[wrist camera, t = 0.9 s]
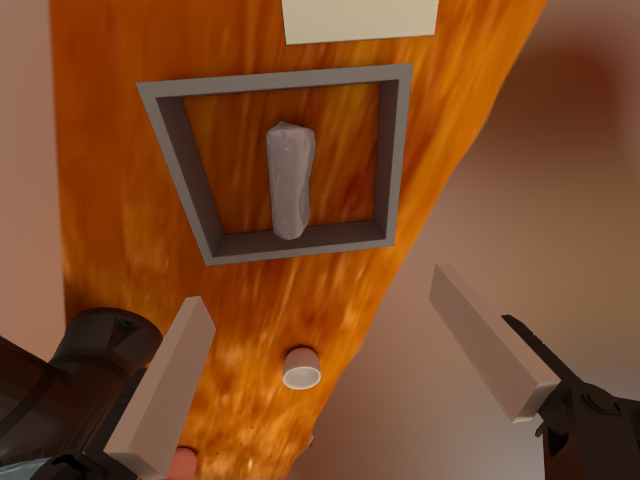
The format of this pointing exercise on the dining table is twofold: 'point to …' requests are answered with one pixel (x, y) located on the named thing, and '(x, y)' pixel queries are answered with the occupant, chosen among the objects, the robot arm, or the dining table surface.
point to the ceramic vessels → (182, 465)
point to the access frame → (265, 245)
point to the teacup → (301, 369)
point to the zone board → (356, 20)
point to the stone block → (290, 177)
